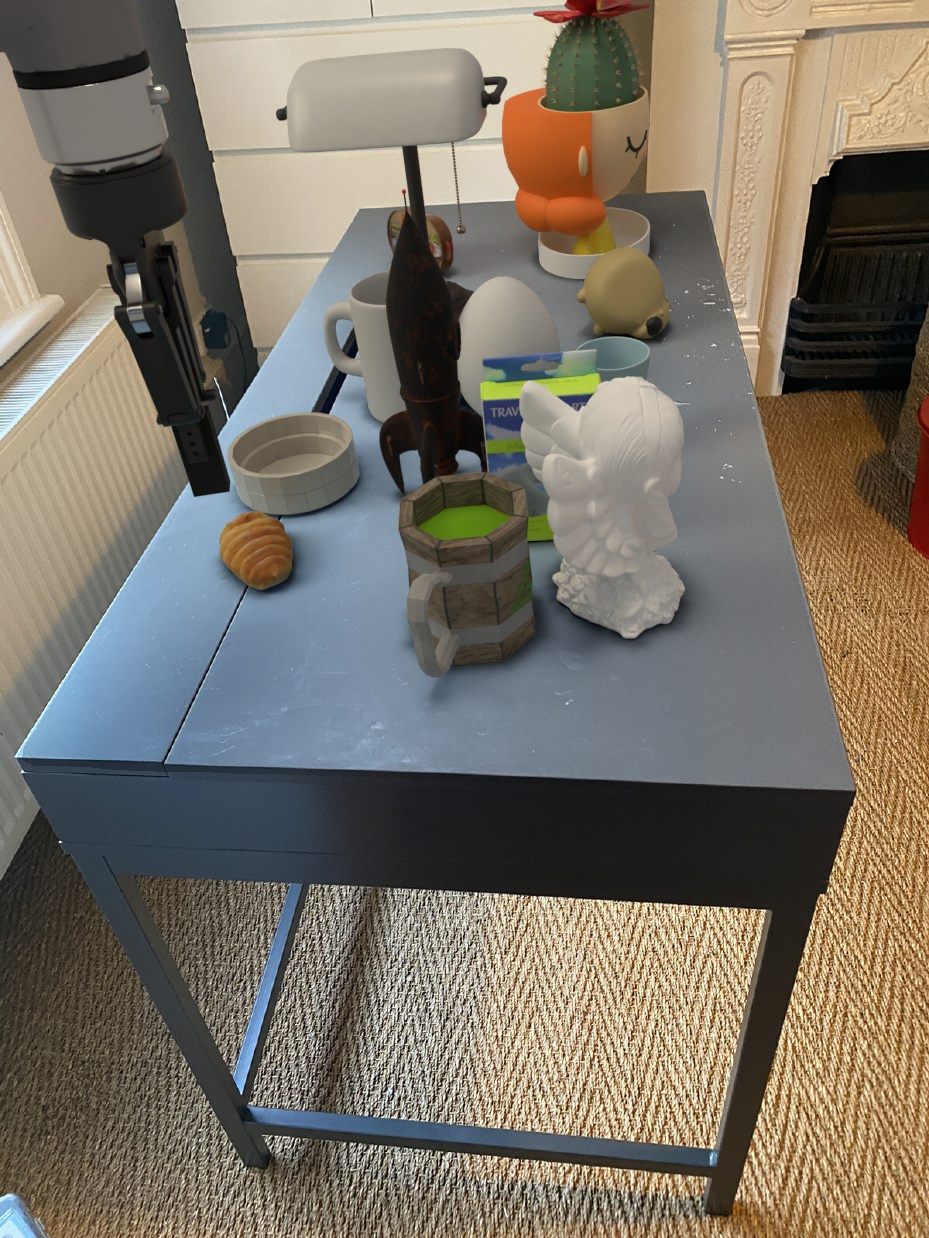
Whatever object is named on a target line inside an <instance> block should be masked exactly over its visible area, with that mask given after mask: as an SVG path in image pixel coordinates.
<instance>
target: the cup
mask: <svg viewBox="0 0 929 1238" xmlns="http://www.w3.org/2000/svg"><path fill="white" fill-rule="evenodd" d="M592 349H597V373H598V374H600V379H601V383H602V382H605V381H609V382H610V381H611V380H613V379H614V378H625V377H627V376H629V377H642V378H643V379H644V380H646V381H647V378H648V372H649V366H650V359H651V348H650V346H649V345H648V344H646V343H645V342H643V341H641V340H639V339H637V338H633V337H627V336H604V337H603V336H602V337H598V338H594V339H591V340H587V341H586V342H584V343H582V344H580V345H579V346H578V347H577V348H576V349H575V350H574V351H580V350H592Z"/></svg>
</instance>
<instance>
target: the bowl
mask: <svg viewBox="0 0 929 1238" xmlns="http://www.w3.org/2000/svg"><path fill="white" fill-rule="evenodd" d="M357 453H358V452H357V448H356V443H355V439H354V432H353V429H352V427H351V426H350V425H349V424H348V423H347V422H346V420H344V419H342V418H340V417H337V416H335V415H333V414H329V413H323V412H295V413H288V414H281V415H278V416H274V417H271V418H268V419H265V420H262V421H259V422H258V423H256V424H254V425H252V426H250V427H248V428H246V429H245V430H244V431H242V432H241V433H239V434H238V435H237V436H236V437H234V439H233V440H232V442H231V444H229V446H228V447H227V455H226V460H227V464H228V467H229V471H230V474H231V476H232V480H233V483H234V486H235V490H236V493H237V495H238V498H239V499H240V500H241V502H242V504H243V505H245V506H246V507H249V509H251V510H253V511H259V512H263V513H265V514H268V515H276V516H277V515H278V516H292V515H293V516H294V515H299V514H304V513H310V512H313V511H317V510H320V509H323V508H325V507H328V506H330V505H331V504H333V503H335V502H336V501H339V500H340V499H342V497H344V496H346V495H347V494H348V492H350V491H351V490H352V489H353V488H354V487H355V486H356V484H357V483H358V479H359V478H360V475H361V471H360V462H359V458H358V454H357Z"/></svg>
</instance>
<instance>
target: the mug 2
mask: <svg viewBox="0 0 929 1238" xmlns="http://www.w3.org/2000/svg"><path fill="white" fill-rule="evenodd" d="M398 511H399V512H398V525H397V527H398V533H399V536H400V539H401V542H402V545H403V548H404V553H405V557H406V564H407V572H408V574H407V575H408V587H409V588H408V593H407V595H406V618H407V622H408V625H409V628H410V632H411V635H412V639H413V640H412V641H413V646H414V651H415V656H416V659H417V663H418V666H419V668H420V670H421V671H422V673H424V674H425V675H426V676H428V677H430V678H441V677H442V676H443V675H445V674H446V673H447V672H448V671H449V670H450V668H451V666H464V665H467V666H468V665H476V664H477V665H479V664H488V663H500V662H505V661H506V660H508V659H509V658H510V657H511V656H512V655H513V654H515V653H516V652H517V651H518V650H520V649H521V648H522V647H523V646H524V645H526V644H527V643H528V642H529V641H531V640H532V639H533V638H534V637H536V636H537V627H536V618H535V617H536V616H535V609H534V601H533V597H532V595H533V573H532V565H531V555H530V549H529V543H528V542H529V541H527V531H528V509H527V501H526V493H525V488H524V487H522V486H520V485H517V484H515V483H512V482H510V481H508V480H505V479H503V478H501V477H498V476H496V475H493V474H491V473H489V472H482V471H479V472H468V473H458V474H451V475H448V476H438V477H435V478H434V479H432V480H430V481H429V482H427V483H426V484H424V485H423V484H422V485H421V486H420V487H418V488H416V489H414V490H413V491H412V492H409V493H408V494H407V495H404V496H403V497H402V498H400V499H399V510H398Z"/></svg>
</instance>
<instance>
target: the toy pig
mask: <svg viewBox="0 0 929 1238" xmlns="http://www.w3.org/2000/svg"><path fill="white" fill-rule="evenodd" d="M583 280H584V281H583V286H582V288H581V289H580V290H579V291H578V292H577V294H576V297H575V298H576V301H577V302H578V303H580V304H584V306H585V308H586V311H587V313H588V315H589V316H590V318H591V319H592V321H593V323H594V325H593V329H592V330H593V333H594V334H595V335H597V336H601V335H604V334H605V333H608V334H613V335H625V334H627V335H629V336H632V337H634V338H635V339H641V340H648V339H651V338H654V337H655V336H657V335H659V334H660V332H662V330H664V329H665V327H666V326H667V324H668V322H669V320H670V316H671V309H670V308H671V307H672V303H671V302H669V300H668V299H667V297H666V294H665V293H666V292H665V285H664V281H663V278H662V276H661V273H660V271H659V269H658V268H657V266H656V265H655V262H654V261H653V260H652V259H651V258H650V257H649V255H648V256H647V255H646V254H645V253H644V252H642V251H641V250H639V249H636V248H632V247H621V248H617V249H614V250H611V251H609V252H607V253H605V254H604V255H602V256H601V257H599V258H598V259H597V260H596V261H595V262H594V263H593V264H592V266H591V267H590V268H589V270H588V272H587V274H586V277H585V279H583Z"/></svg>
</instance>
